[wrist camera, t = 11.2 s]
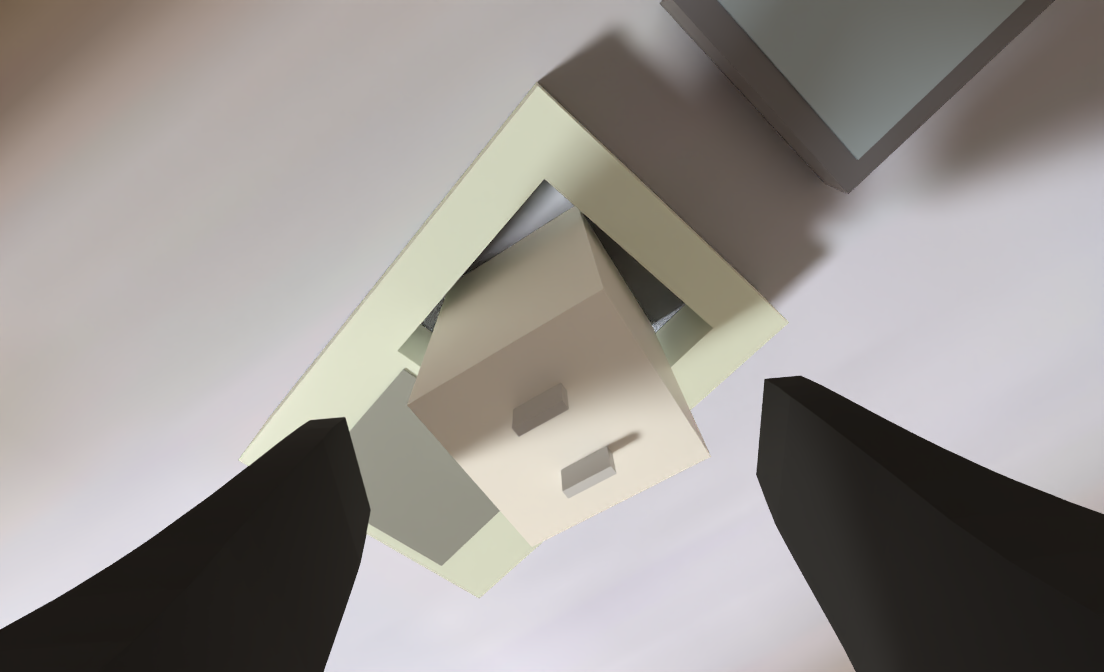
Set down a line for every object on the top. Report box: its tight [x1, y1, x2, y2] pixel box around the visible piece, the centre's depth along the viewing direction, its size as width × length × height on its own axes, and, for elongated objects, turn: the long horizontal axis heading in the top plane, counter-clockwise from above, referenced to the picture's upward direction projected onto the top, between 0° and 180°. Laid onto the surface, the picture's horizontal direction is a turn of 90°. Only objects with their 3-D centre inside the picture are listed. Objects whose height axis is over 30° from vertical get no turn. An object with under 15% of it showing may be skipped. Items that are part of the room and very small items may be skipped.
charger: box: [407, 206, 711, 547], centre depth 13 cm, size 4×4×7 cm
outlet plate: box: [239, 82, 789, 598], centre depth 16 cm, size 8×12×2 cm, turn 139°
